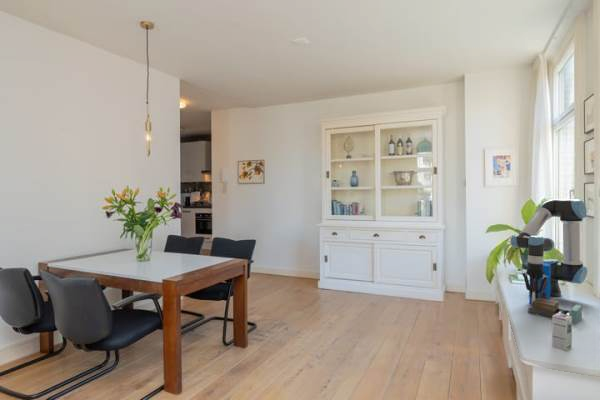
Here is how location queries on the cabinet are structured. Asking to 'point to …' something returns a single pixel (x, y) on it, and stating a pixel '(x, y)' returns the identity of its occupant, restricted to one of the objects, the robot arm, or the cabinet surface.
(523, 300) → the cabinet surface
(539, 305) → the slab
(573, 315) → the stop block
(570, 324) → the syrup box
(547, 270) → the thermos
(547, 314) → the roller bed
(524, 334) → the cabinet surface
